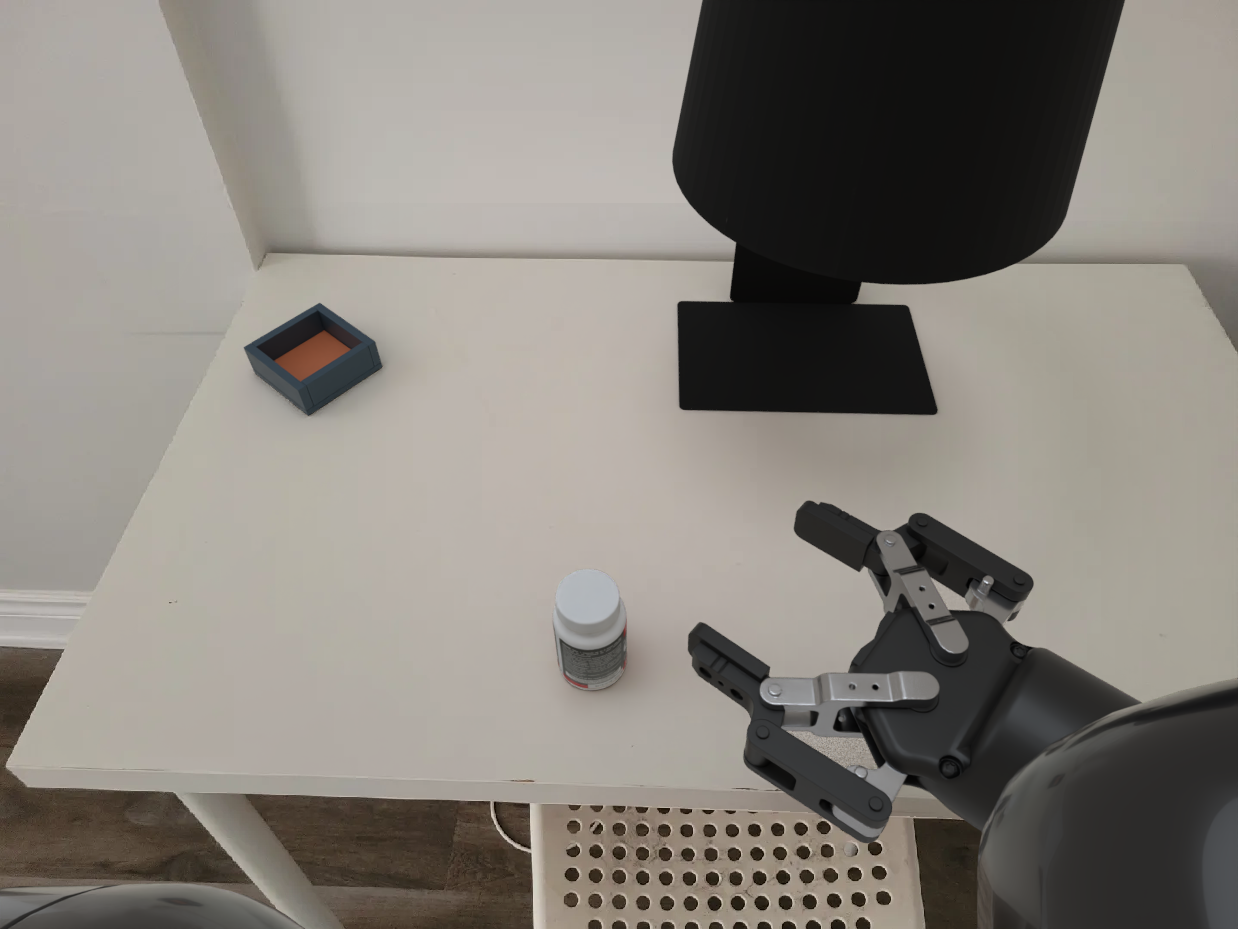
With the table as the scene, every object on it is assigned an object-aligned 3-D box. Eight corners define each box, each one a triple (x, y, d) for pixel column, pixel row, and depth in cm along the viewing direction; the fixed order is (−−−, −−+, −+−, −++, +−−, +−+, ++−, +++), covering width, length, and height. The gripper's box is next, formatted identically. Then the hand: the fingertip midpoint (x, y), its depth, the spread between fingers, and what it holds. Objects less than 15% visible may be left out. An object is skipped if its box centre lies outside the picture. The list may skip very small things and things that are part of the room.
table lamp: (923, 296, 85) (1090, -211, 55) (994, 532, 67) (1302, -30, 37) (660, 292, 86) (681, -212, 55) (660, 524, 68) (691, -35, 37)
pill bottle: (639, 671, 60) (641, 607, 53) (578, 704, 58) (572, 642, 52) (605, 618, 62) (603, 551, 56) (546, 649, 61) (536, 583, 55)
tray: (308, 416, 75) (298, 390, 73) (254, 372, 79) (242, 347, 76) (382, 367, 79) (375, 341, 77) (328, 327, 83) (319, 302, 80)
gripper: (1209, 615, 34) (839, 428, 41) (1063, 930, 27) (650, 639, 34) (1131, 703, 40) (819, 525, 47) (994, 982, 33) (652, 723, 40)
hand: (748, 573), depth 40 cm, fingers open, 8 cm apart
